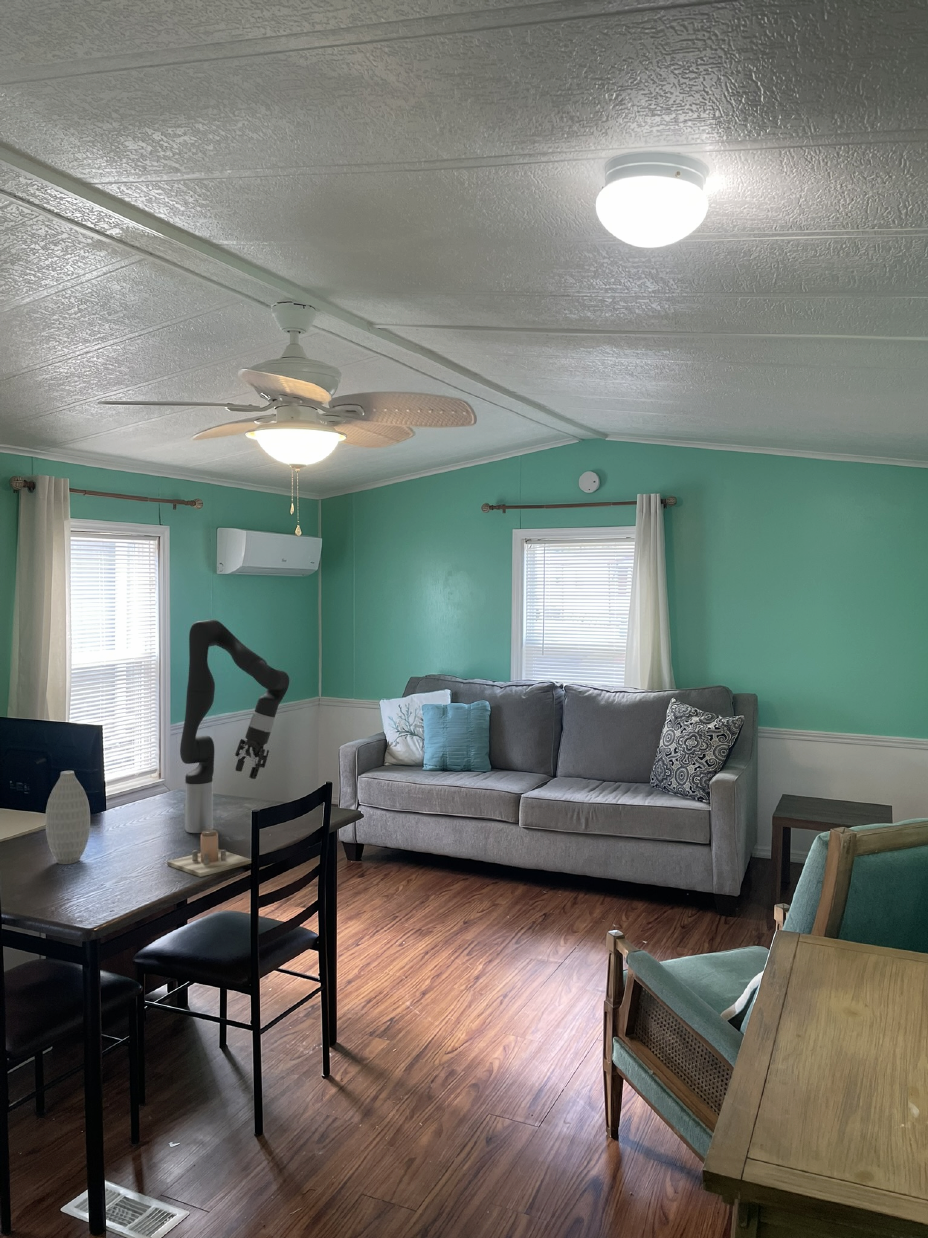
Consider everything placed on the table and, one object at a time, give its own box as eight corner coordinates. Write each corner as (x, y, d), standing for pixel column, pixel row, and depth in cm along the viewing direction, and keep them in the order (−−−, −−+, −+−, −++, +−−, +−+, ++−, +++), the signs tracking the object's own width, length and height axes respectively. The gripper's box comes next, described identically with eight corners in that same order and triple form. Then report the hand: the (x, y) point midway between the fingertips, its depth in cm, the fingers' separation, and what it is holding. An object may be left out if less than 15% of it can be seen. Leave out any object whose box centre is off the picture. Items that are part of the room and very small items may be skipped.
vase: (46, 858, 286) (45, 769, 286) (90, 854, 291) (89, 766, 291) (45, 869, 275) (44, 777, 274) (90, 864, 280) (89, 773, 279)
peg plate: (167, 865, 279) (167, 851, 279) (217, 852, 292) (217, 839, 292) (200, 877, 267) (200, 862, 267) (251, 863, 281) (251, 849, 281)
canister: (197, 860, 280) (197, 831, 279) (212, 856, 283) (212, 828, 283) (206, 863, 276) (206, 835, 276) (221, 860, 280) (221, 832, 279)
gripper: (239, 720, 303) (224, 767, 302) (263, 731, 293) (247, 779, 292) (257, 724, 309) (242, 770, 307) (281, 734, 299) (266, 782, 298)
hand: (245, 774), depth 300 cm, fingers open, 8 cm apart
